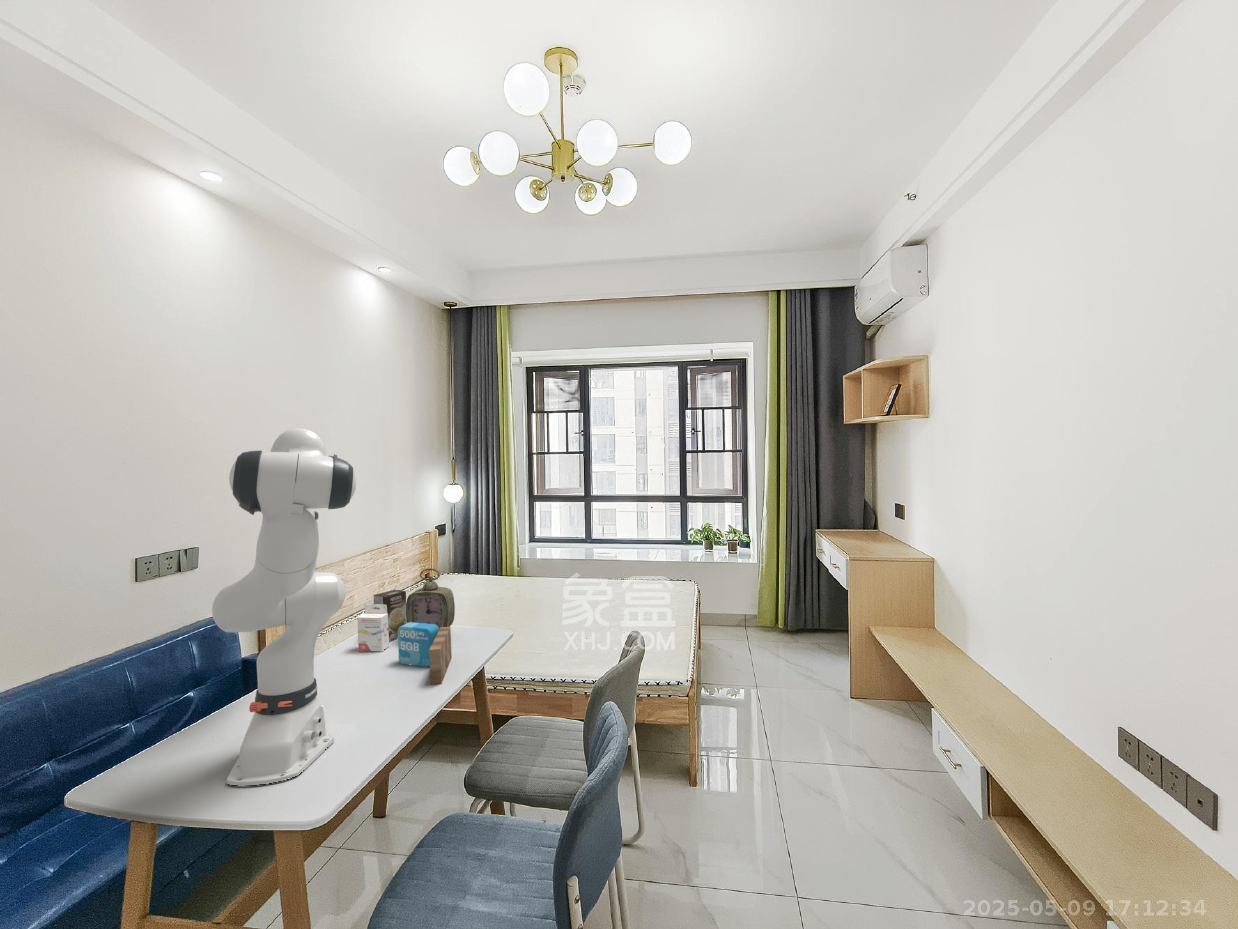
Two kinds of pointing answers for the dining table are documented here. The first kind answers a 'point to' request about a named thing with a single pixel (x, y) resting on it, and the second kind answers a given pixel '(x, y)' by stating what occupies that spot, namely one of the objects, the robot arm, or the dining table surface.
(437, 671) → the walnut board
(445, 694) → the dining table surface
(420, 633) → the data package
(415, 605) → the tabletop clock
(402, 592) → the coffee box
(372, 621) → the ink cartridge box
